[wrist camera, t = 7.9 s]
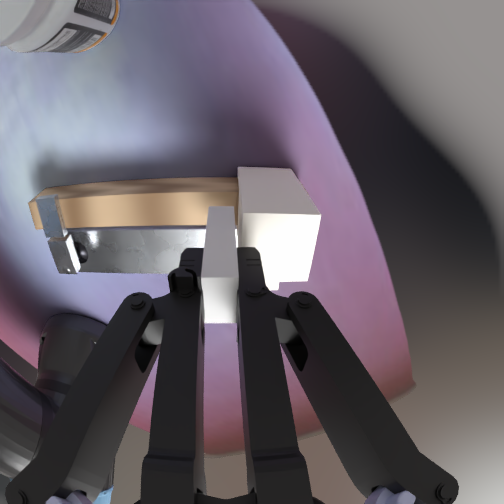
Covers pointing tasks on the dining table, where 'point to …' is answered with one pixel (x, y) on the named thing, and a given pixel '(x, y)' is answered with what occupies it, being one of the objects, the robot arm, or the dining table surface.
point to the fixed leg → (58, 235)
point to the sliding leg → (277, 222)
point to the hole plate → (135, 247)
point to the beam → (142, 201)
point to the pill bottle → (56, 24)
